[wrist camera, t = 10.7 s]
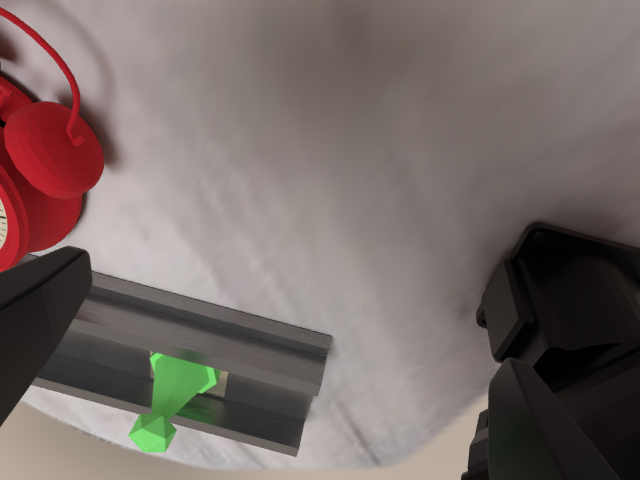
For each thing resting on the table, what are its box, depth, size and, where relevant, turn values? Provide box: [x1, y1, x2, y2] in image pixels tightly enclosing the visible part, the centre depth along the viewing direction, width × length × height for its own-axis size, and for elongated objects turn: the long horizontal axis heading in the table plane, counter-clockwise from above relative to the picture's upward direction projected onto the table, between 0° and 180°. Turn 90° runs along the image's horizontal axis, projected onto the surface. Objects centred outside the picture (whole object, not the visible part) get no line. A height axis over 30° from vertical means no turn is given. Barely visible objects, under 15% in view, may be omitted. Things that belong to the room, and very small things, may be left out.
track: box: [12, 254, 332, 457], centre depth 29 cm, size 24×9×3 cm, turn 78°
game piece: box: [128, 352, 221, 452], centre depth 26 cm, size 4×4×6 cm
